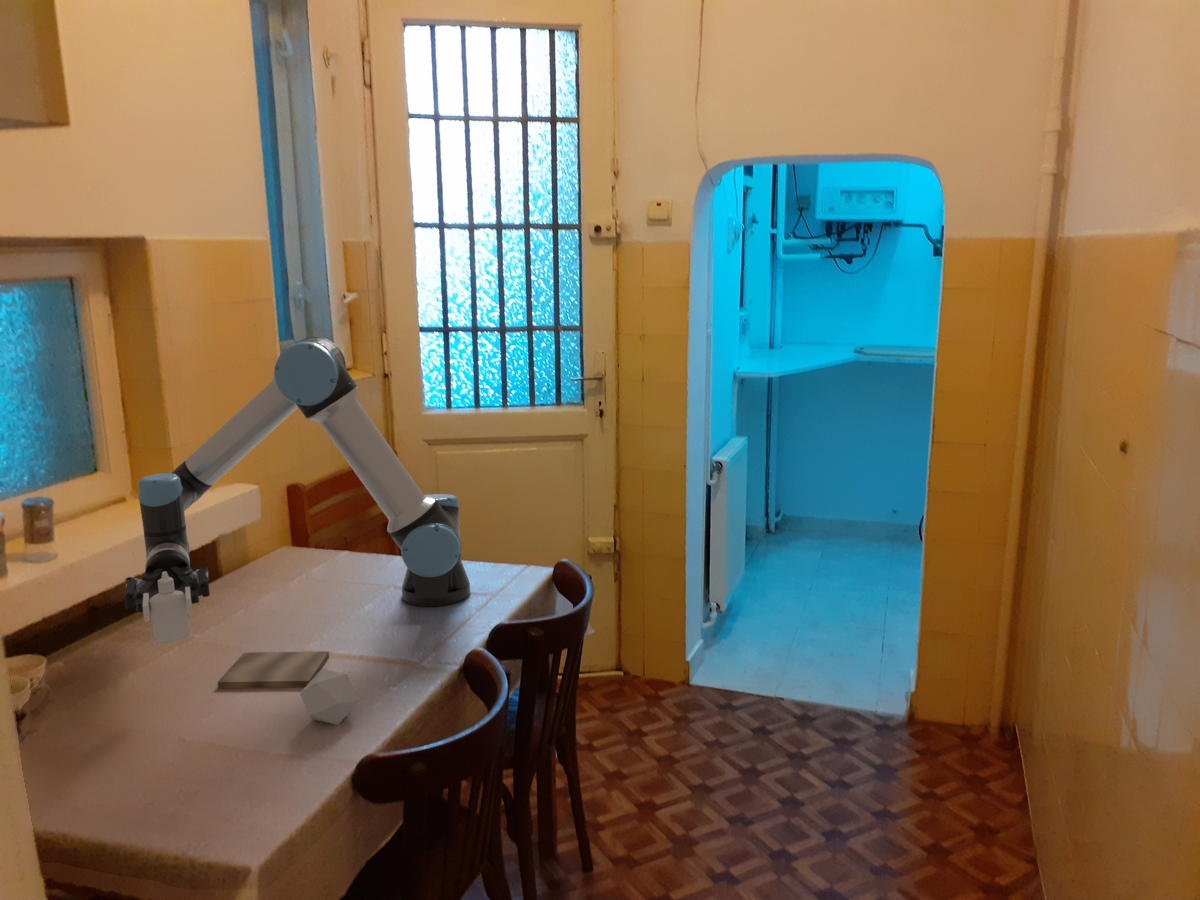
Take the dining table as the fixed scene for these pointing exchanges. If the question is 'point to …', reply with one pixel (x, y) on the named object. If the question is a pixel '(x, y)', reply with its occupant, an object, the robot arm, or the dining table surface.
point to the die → (329, 696)
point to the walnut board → (274, 669)
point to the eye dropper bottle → (169, 612)
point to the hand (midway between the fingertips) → (167, 610)
